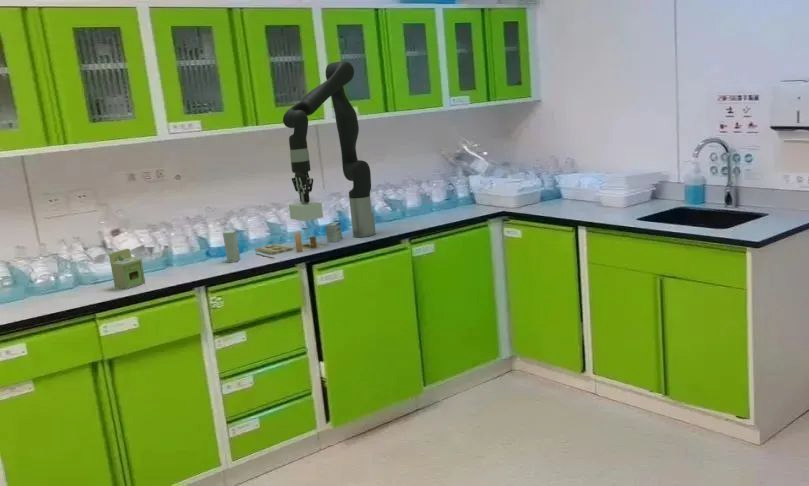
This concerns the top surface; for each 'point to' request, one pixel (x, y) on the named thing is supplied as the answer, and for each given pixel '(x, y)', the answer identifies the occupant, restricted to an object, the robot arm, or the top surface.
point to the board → (311, 244)
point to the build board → (273, 250)
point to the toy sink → (126, 269)
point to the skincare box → (231, 246)
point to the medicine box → (333, 232)
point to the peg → (298, 242)
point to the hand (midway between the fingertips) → (304, 202)
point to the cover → (305, 210)
